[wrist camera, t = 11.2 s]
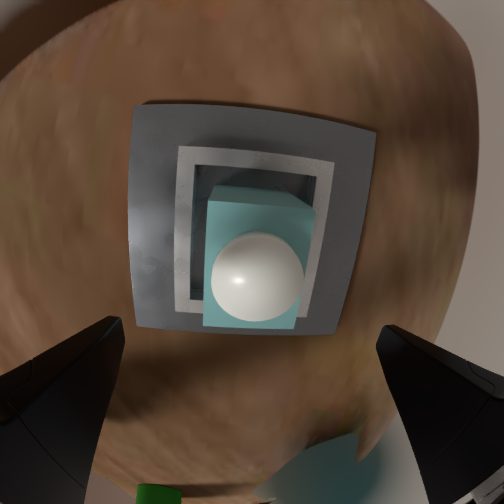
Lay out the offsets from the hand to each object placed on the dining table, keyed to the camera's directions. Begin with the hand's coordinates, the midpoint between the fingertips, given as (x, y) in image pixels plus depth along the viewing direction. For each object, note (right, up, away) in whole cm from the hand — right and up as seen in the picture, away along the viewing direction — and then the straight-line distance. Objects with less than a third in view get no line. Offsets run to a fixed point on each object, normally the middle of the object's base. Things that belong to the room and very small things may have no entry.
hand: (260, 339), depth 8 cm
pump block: (-1, +4, +9) cm, 10 cm away
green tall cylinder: (-19, -45, +27) cm, 56 cm away
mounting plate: (-1, +4, +10) cm, 11 cm away
